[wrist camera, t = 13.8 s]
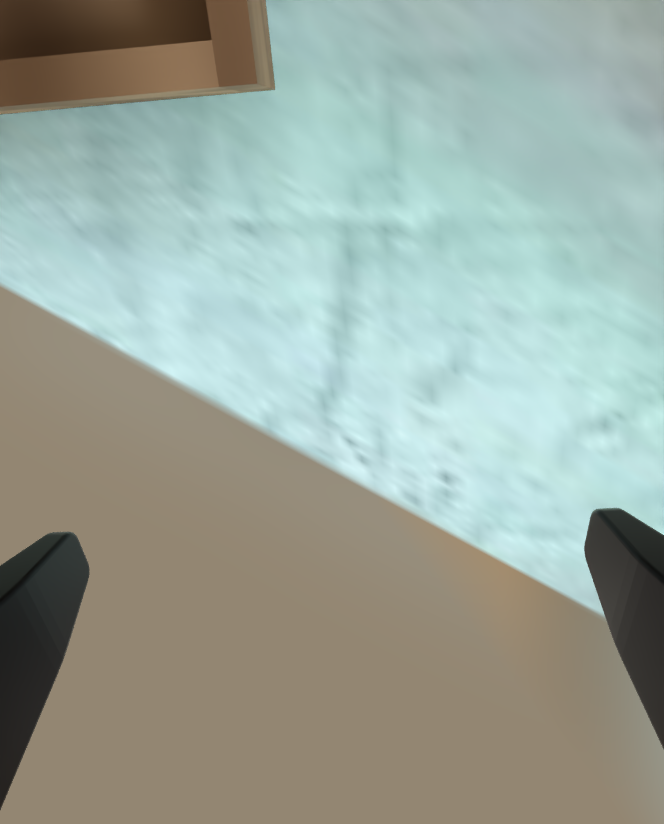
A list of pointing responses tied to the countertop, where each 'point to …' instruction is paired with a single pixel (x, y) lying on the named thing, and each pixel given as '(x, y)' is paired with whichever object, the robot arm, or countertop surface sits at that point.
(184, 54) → the box
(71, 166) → the countertop surface
